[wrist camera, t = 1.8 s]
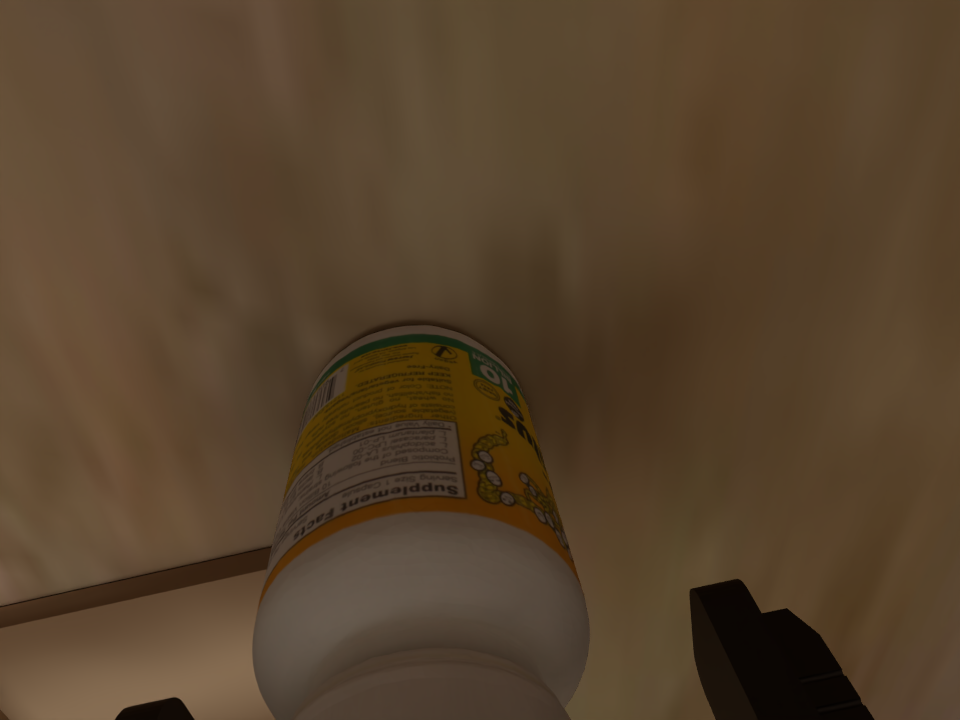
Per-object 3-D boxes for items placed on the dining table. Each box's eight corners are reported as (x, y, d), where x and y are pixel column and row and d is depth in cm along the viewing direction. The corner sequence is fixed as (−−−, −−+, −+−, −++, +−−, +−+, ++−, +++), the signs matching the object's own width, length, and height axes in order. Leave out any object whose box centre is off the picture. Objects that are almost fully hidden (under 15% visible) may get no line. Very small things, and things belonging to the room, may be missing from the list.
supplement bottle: (277, 343, 15) (120, 767, 7) (508, 297, 15) (632, 662, 7) (341, 519, 18) (284, 983, 9) (538, 480, 18) (656, 907, 10)
